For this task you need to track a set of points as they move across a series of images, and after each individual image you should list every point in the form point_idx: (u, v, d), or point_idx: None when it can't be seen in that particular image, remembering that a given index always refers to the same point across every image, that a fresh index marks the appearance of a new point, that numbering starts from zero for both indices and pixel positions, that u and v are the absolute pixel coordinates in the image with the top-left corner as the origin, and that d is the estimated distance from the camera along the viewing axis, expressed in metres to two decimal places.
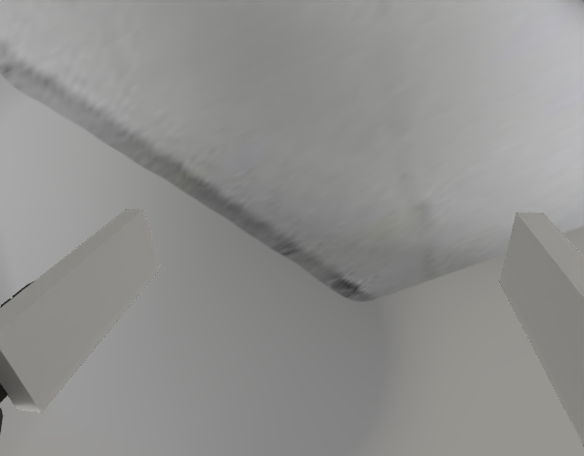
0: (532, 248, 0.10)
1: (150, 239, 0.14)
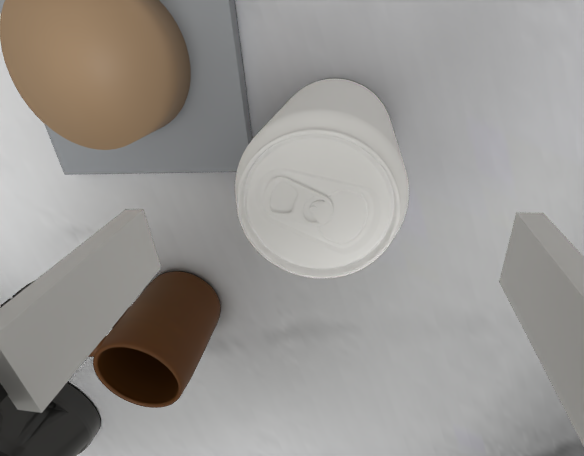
0: (532, 248, 0.10)
1: (150, 239, 0.14)
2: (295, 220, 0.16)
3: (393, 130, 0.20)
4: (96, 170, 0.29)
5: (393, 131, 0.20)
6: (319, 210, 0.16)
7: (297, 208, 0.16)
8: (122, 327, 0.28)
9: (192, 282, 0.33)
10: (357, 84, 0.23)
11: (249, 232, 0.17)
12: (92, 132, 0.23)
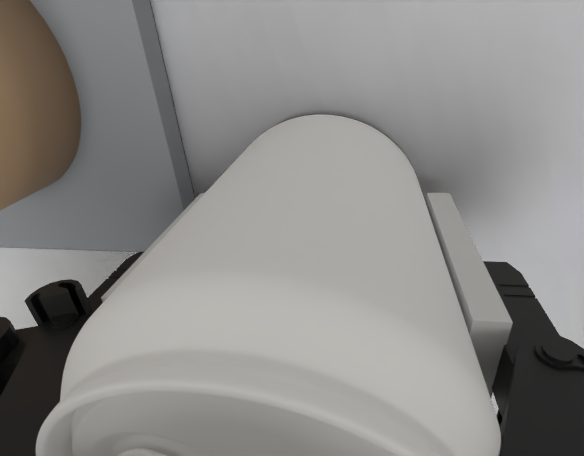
0: (432, 221, 0.12)
1: None
2: None
3: None
4: None
5: (436, 237, 0.10)
6: None
7: None
8: None
9: None
10: (363, 127, 0.13)
11: None
12: None
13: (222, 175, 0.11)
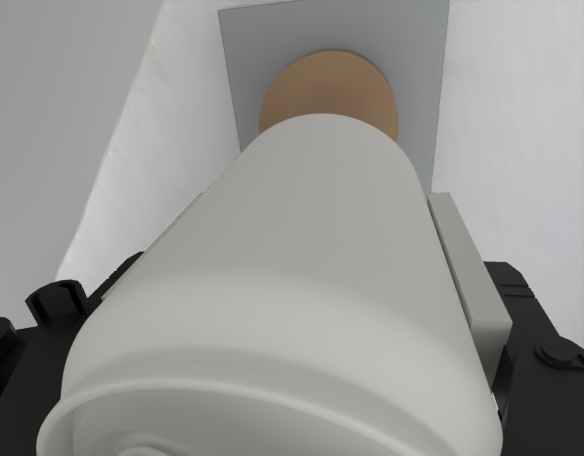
0: None
1: None
2: None
3: (434, 227, 0.10)
4: None
5: (437, 236, 0.10)
6: None
7: None
8: None
9: None
10: (363, 126, 0.13)
11: None
12: None
13: (223, 174, 0.11)
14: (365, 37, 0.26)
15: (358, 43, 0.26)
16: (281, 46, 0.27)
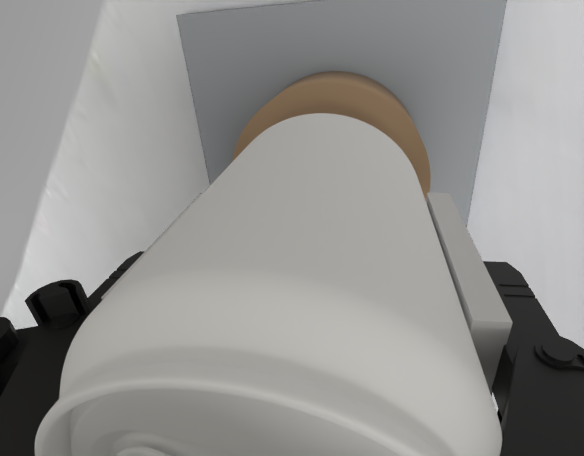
0: (432, 221, 0.12)
1: None
2: None
3: (434, 227, 0.10)
4: None
5: (436, 236, 0.10)
6: None
7: None
8: None
9: None
10: (363, 125, 0.13)
11: None
12: None
13: (222, 173, 0.11)
14: (382, 56, 0.18)
15: (372, 64, 0.19)
16: (265, 65, 0.19)
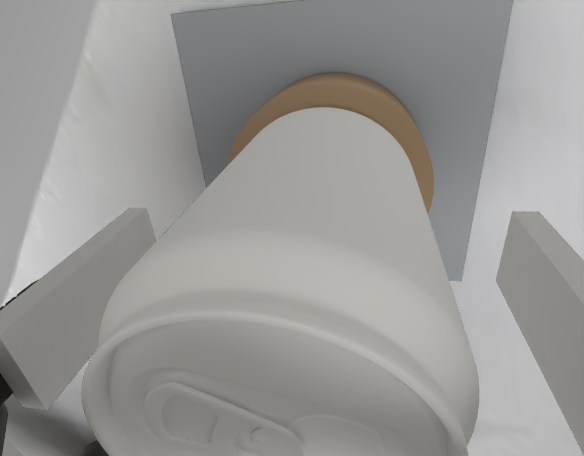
0: (527, 247, 0.10)
1: (153, 238, 0.14)
2: None
3: (425, 209, 0.11)
4: None
5: (427, 217, 0.11)
6: (272, 447, 0.07)
7: (221, 441, 0.07)
8: None
9: None
10: (361, 118, 0.14)
11: None
12: None
13: (232, 161, 0.12)
14: (383, 57, 0.18)
15: (373, 65, 0.18)
16: (262, 66, 0.19)
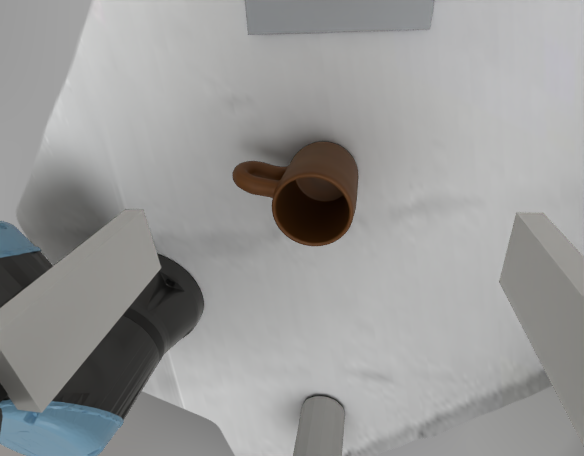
0: (532, 248, 0.10)
1: (150, 239, 0.14)
2: None
3: None
4: (280, 29, 0.33)
5: None
6: None
7: None
8: (302, 166, 0.32)
9: (341, 149, 0.37)
10: None
11: None
12: None
13: None
14: None
15: None
16: None
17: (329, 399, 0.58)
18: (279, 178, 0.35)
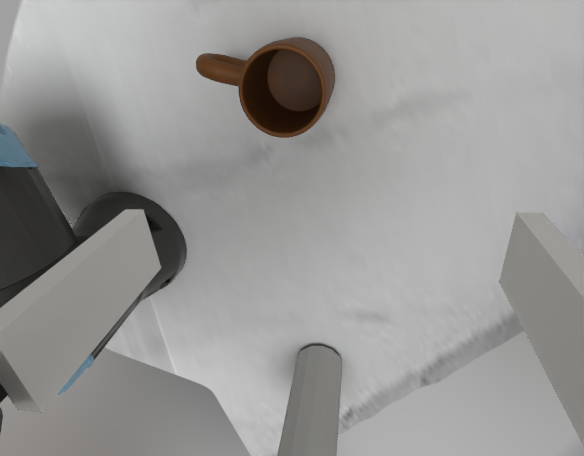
0: (532, 248, 0.10)
1: (150, 239, 0.14)
2: None
3: None
4: None
5: None
6: None
7: None
8: (268, 44, 0.29)
9: (314, 42, 0.34)
10: None
11: None
12: None
13: None
14: None
15: None
16: None
17: (324, 347, 0.55)
18: None
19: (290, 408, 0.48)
